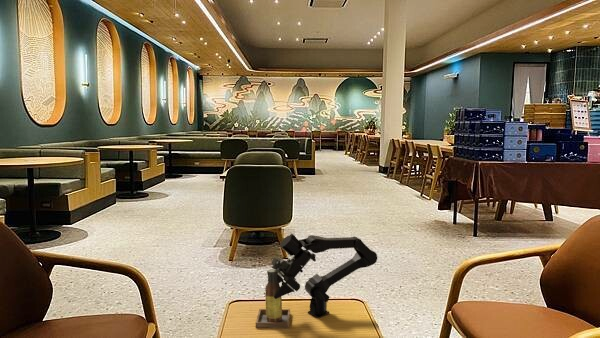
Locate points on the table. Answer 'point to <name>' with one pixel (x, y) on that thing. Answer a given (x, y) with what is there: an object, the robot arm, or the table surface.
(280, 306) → the sauce bottle
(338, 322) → the table surface
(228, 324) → the table surface
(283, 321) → the walnut frame
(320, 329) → the table surface
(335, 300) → the table surface
